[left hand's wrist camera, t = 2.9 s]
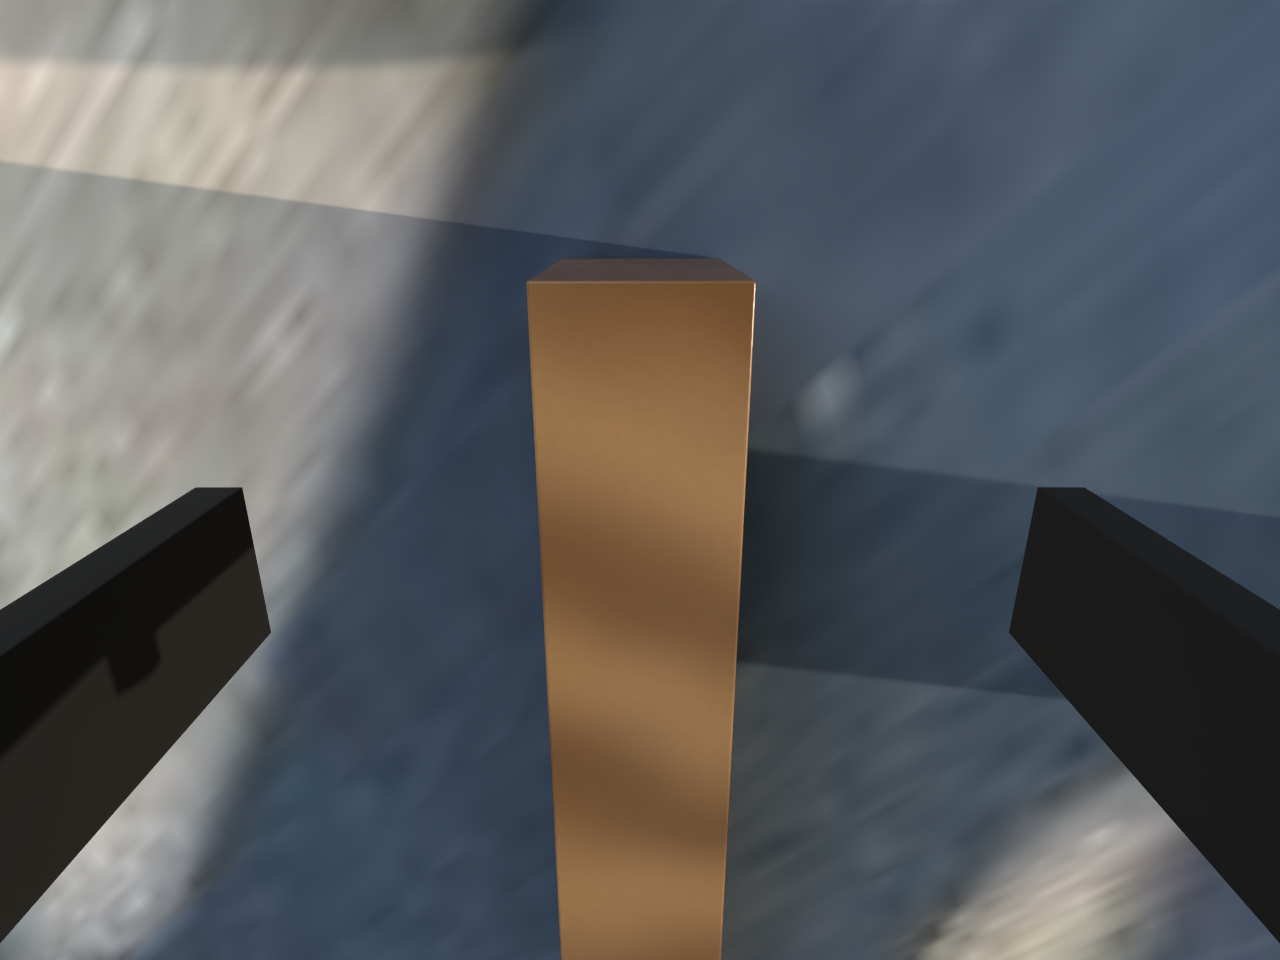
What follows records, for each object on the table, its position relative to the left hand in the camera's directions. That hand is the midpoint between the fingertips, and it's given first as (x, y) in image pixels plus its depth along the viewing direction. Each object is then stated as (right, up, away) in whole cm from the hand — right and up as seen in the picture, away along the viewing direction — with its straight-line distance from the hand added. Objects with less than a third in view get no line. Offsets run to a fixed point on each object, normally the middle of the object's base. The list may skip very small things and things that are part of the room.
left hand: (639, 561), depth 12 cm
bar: (0, -25, +23) cm, 34 cm away
